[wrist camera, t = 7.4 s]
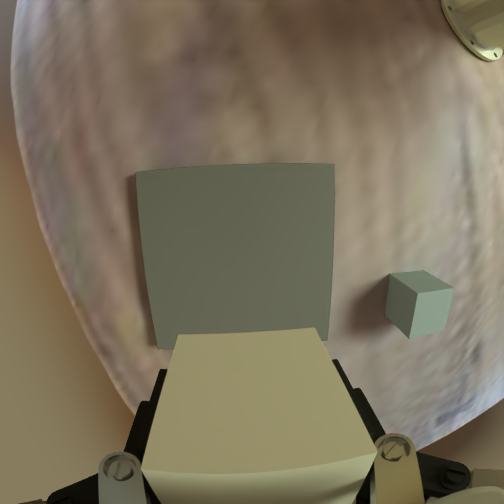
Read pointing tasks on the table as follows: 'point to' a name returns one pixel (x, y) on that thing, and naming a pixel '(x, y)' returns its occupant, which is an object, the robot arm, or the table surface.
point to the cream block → (256, 423)
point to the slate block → (418, 303)
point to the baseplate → (237, 248)
